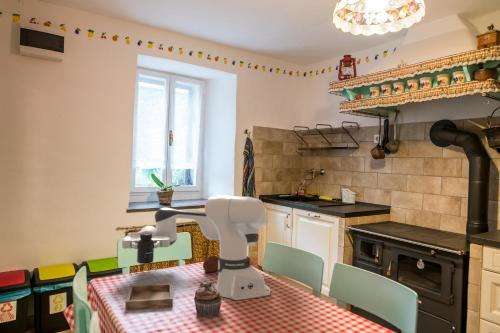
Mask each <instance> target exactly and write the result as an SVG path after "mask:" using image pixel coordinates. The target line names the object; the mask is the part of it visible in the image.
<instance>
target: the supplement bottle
mask: <svg viewBox="0 0 500 333" xmlns="http://www.w3.org/2000/svg"><path fill="white" fill-rule="evenodd" d="M151 238H152V233H141V234H140V239H141V240H139V241H138V244H137V251H136V262H137V263H138V264H142V265H144V264H145V265H146V264H151V263H153V262H154V257H155V256H154V253H155V248H154V241H153V240H152V239H151Z"/></svg>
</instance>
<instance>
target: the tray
mask: <svg viewBox="0 0 500 333" xmlns="http://www.w3.org/2000/svg"><path fill="white" fill-rule="evenodd" d="M173 296H174V294H173V283H163V284H160V283H159V284H143V285H142V284H141V285H140V284H139V285H130V286H129V290H128V294H127V297H126V298H125V311H137V310H138V311H139V310H147V309H148V310H149V309H153V310H154V309H164V308H173V304H174V303H173Z"/></svg>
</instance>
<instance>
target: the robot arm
mask: <svg viewBox="0 0 500 333" xmlns="http://www.w3.org/2000/svg"><path fill="white" fill-rule="evenodd" d="M268 218H269V217H268V213H267V212H266V206H265V204H264V203H263V201H262V200H261V199H260V198H255V197H252V196H241V195H229V194H228V195H227V194H225V195H223V194H219V195H214V196H210V197H209V198H208V199H207V200H206V201H205V204H204V211H198V210H191V209H190V210H188V209H179V208H177V209H175V208H171V207H161V208H158V210H156V212H155V213H154V220H155V226H153V225H146V226H144V227H142V228H141V229H140V230H139V231H134V232H128V233H127V235H126V236H124V237H123V239H122V240H121V248H122V249H124V250H125V249H133V250H136V249H137V244H138V241H139V240H141V239H140V234H141V233H152V238H151V239H152V240H153V241H154V249H157V248H168V247H169V248H170V246H172V245H174V244H175V243H176V242H177V240H178V230H177V219H186V220H187V219H188V220H194V221H195V222H196V223H197V224H198V226H199V229H200V230H201V233H202V235H203V236H204V237H205V238H206V239H207V240H210V241H219V256H218V258H219V260H218V270H217V271H218V276H217V282H216V286H215V289H217V290H218V291H219V293H220V296H221V298H222V297H223V298H227V299H231V300H233V301H243V300H246V299H253V298H260V297H266V296H270V295H271V288H270V287H269V286H268V285H267V284H266V282H265V278H264V275H263V274H262V273H261V272H260V271H258V270H257V269H256V268H255V267H254V266H253V265H255V263H256V261H255V260H254V259H252V258H251V257H249V256H248V247H250V246H253V245H255V244H256V243H257V242H258V241H259V239H260V238H259V236H260V235H259V234H260V233H259V229H261V228H264V227H265V226H266V225H267V223H268V220H269V219H268Z"/></svg>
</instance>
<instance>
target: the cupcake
mask: <svg viewBox="0 0 500 333" xmlns="http://www.w3.org/2000/svg"><path fill="white" fill-rule="evenodd" d="M215 285H216V284H215V282H212V281H210V282H209V283H202V282H201V283H200V285H199V286H198V287H199V288H197V290H195V293H194V298H193V300H194V305H195V312H196V315H197V316H199V317H200V318H208V319H209V318H214V317H218V316H219V314H220V312H221V306H222V302H223V298H222V296H220V293H219V291H218V290H217V289H216V286H215Z"/></svg>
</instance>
